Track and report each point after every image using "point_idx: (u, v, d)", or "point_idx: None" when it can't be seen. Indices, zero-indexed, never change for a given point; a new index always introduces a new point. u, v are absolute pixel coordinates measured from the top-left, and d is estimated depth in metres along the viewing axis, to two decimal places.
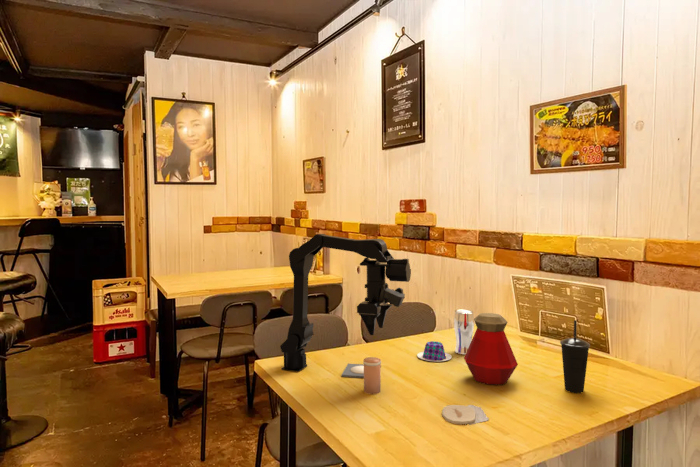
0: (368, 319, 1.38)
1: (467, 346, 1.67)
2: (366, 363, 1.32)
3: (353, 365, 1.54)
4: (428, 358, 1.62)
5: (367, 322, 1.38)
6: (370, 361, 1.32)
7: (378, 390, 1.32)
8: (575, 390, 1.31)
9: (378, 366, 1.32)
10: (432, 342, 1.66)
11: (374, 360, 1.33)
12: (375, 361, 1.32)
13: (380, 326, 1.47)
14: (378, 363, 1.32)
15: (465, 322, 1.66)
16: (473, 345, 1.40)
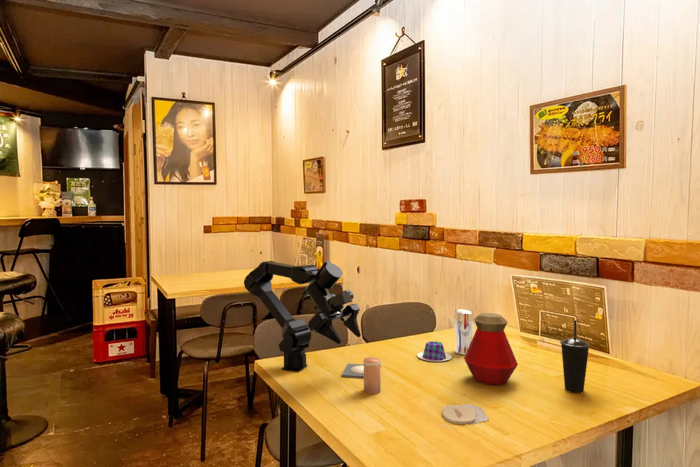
0: (327, 331, 1.36)
1: (467, 346, 1.67)
2: (366, 363, 1.32)
3: (353, 365, 1.54)
4: (428, 358, 1.62)
5: (328, 334, 1.36)
6: (370, 361, 1.32)
7: (378, 390, 1.32)
8: (575, 390, 1.31)
9: (378, 366, 1.32)
10: (432, 342, 1.66)
11: (374, 360, 1.33)
12: (375, 361, 1.32)
13: (358, 335, 1.42)
14: (378, 363, 1.32)
15: (465, 322, 1.66)
16: (473, 345, 1.40)
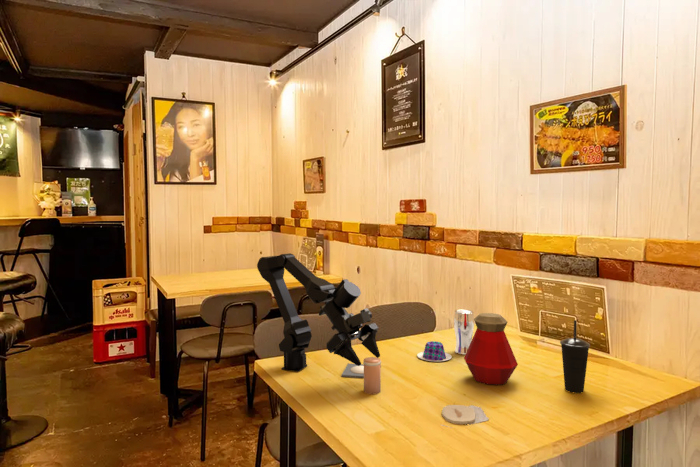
0: (346, 353, 1.32)
1: (467, 346, 1.67)
2: (366, 363, 1.32)
3: (353, 365, 1.54)
4: (428, 358, 1.62)
5: (347, 356, 1.31)
6: (370, 361, 1.32)
7: (378, 390, 1.32)
8: (575, 390, 1.31)
9: (378, 366, 1.32)
10: (432, 342, 1.66)
11: (374, 360, 1.33)
12: (375, 361, 1.32)
13: (377, 355, 1.38)
14: (378, 363, 1.32)
15: (465, 322, 1.66)
16: (473, 345, 1.40)
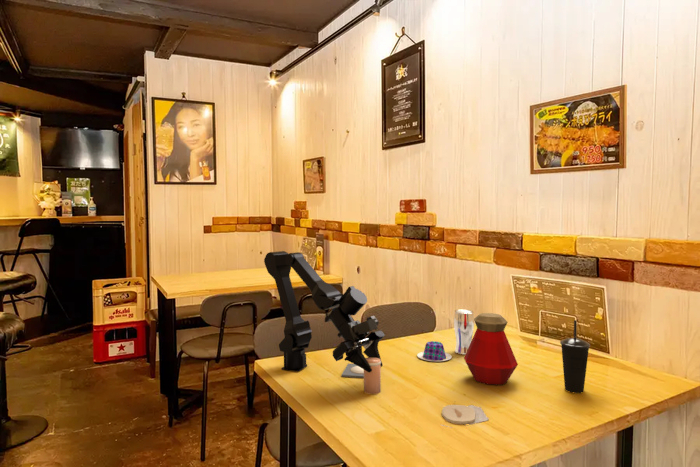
0: (357, 359, 1.32)
1: (467, 346, 1.67)
2: None
3: (353, 365, 1.54)
4: (428, 358, 1.62)
5: (358, 362, 1.32)
6: (370, 361, 1.32)
7: (378, 390, 1.32)
8: (575, 390, 1.31)
9: (378, 366, 1.32)
10: (432, 342, 1.66)
11: (375, 360, 1.33)
12: (375, 361, 1.32)
13: None
14: (378, 363, 1.32)
15: (465, 322, 1.66)
16: (473, 345, 1.40)
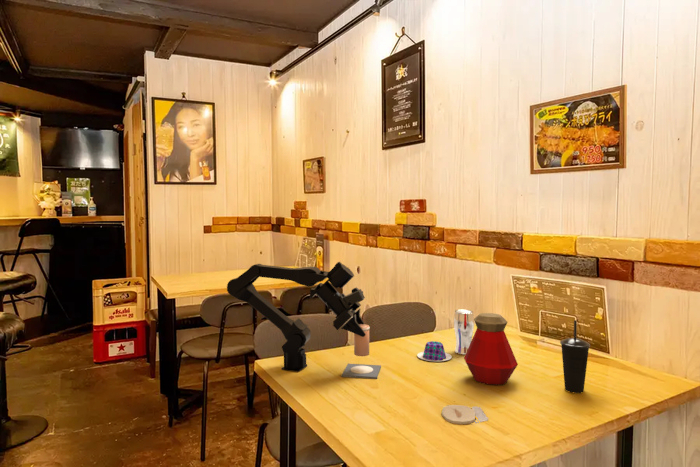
0: (351, 326, 1.46)
1: (467, 346, 1.67)
2: None
3: (353, 365, 1.54)
4: (428, 358, 1.62)
5: (353, 329, 1.46)
6: (362, 327, 1.47)
7: (368, 352, 1.49)
8: (575, 390, 1.31)
9: None
10: (432, 342, 1.66)
11: (364, 326, 1.49)
12: (366, 326, 1.48)
13: None
14: (369, 328, 1.48)
15: (465, 322, 1.66)
16: (473, 345, 1.40)
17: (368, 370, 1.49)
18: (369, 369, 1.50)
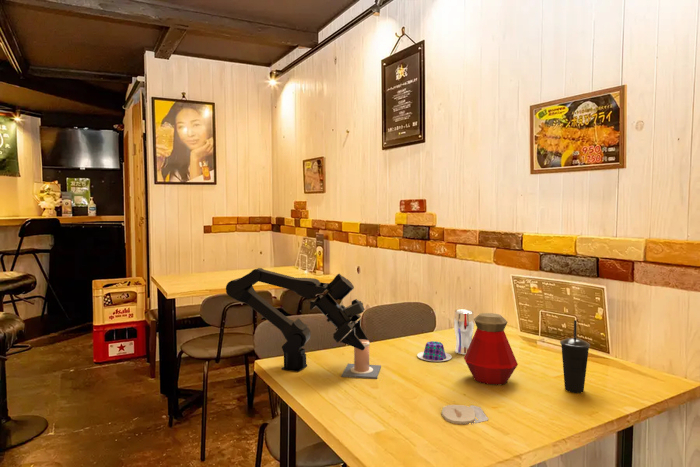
0: (351, 340, 1.44)
1: (467, 346, 1.67)
2: None
3: (353, 365, 1.54)
4: (429, 358, 1.62)
5: (352, 342, 1.44)
6: (362, 342, 1.48)
7: None
8: (575, 390, 1.31)
9: (368, 346, 1.49)
10: (432, 342, 1.66)
11: (364, 341, 1.49)
12: (366, 342, 1.48)
13: None
14: (369, 343, 1.49)
15: (465, 322, 1.66)
16: (473, 345, 1.40)
17: (368, 370, 1.49)
18: (369, 369, 1.50)
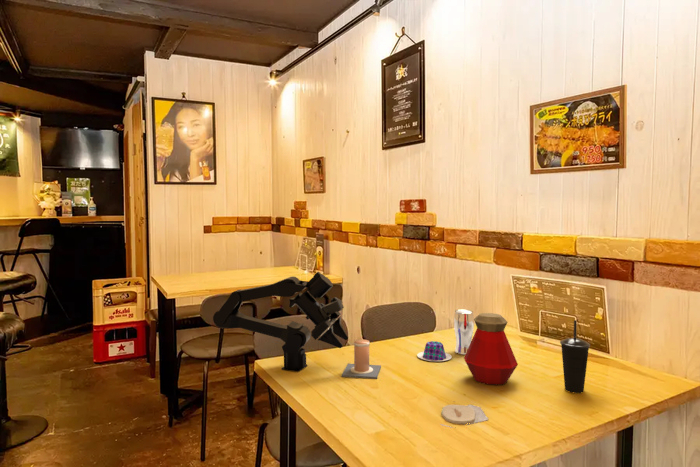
0: (328, 338, 1.45)
1: (467, 346, 1.67)
2: (359, 344, 1.47)
3: (353, 365, 1.54)
4: (429, 358, 1.62)
5: (330, 340, 1.45)
6: (362, 342, 1.48)
7: None
8: (575, 390, 1.31)
9: (368, 346, 1.49)
10: (432, 342, 1.66)
11: (364, 341, 1.49)
12: (366, 342, 1.48)
13: (346, 338, 1.55)
14: (369, 343, 1.49)
15: (465, 322, 1.66)
16: (473, 345, 1.40)
17: None
18: (369, 369, 1.50)
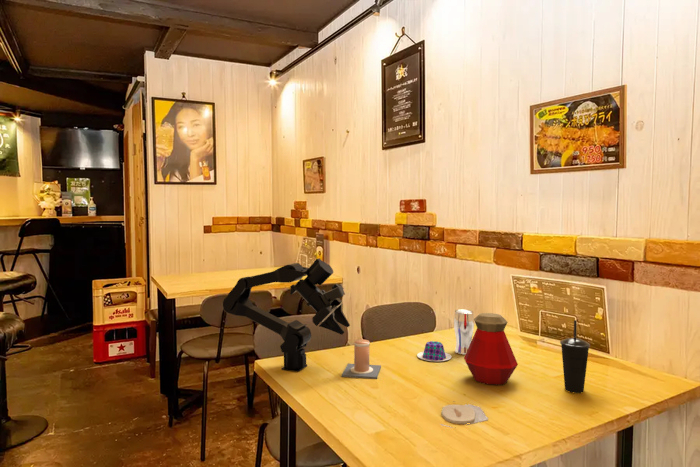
0: (330, 324, 1.44)
1: (467, 346, 1.67)
2: (359, 345, 1.47)
3: (353, 365, 1.54)
4: (429, 358, 1.62)
5: (331, 327, 1.44)
6: (362, 342, 1.48)
7: None
8: (575, 390, 1.31)
9: None
10: (431, 342, 1.66)
11: (364, 341, 1.49)
12: (366, 342, 1.48)
13: (347, 325, 1.53)
14: (369, 343, 1.48)
15: (465, 322, 1.66)
16: (473, 345, 1.40)
17: None
18: (369, 369, 1.50)
